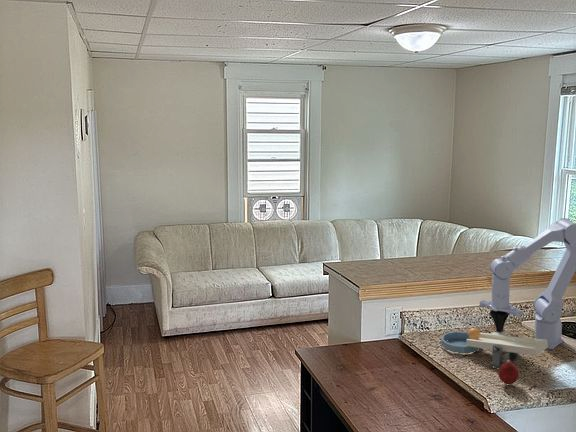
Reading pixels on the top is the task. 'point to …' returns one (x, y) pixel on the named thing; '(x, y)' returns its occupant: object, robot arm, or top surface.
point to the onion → (508, 373)
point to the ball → (474, 333)
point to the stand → (502, 360)
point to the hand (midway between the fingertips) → (499, 330)
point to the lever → (509, 343)
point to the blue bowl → (457, 342)
